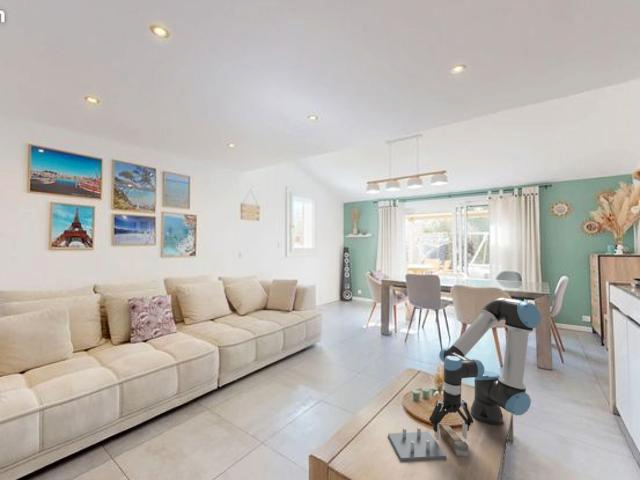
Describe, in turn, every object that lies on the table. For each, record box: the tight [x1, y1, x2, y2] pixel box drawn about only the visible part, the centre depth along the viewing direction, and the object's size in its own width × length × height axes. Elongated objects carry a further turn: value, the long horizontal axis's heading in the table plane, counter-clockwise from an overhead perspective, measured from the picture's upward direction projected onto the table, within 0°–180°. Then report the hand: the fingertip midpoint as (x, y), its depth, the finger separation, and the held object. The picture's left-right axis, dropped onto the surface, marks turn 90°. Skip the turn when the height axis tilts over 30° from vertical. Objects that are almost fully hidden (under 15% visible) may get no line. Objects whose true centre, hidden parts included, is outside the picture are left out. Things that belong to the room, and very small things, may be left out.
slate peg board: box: [387, 426, 447, 462], centre depth 131 cm, size 20×16×5 cm
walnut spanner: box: [439, 423, 469, 457], centre depth 134 cm, size 16×5×4 cm, turn 6°
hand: (450, 437), depth 135 cm, fingers open, 13 cm apart
